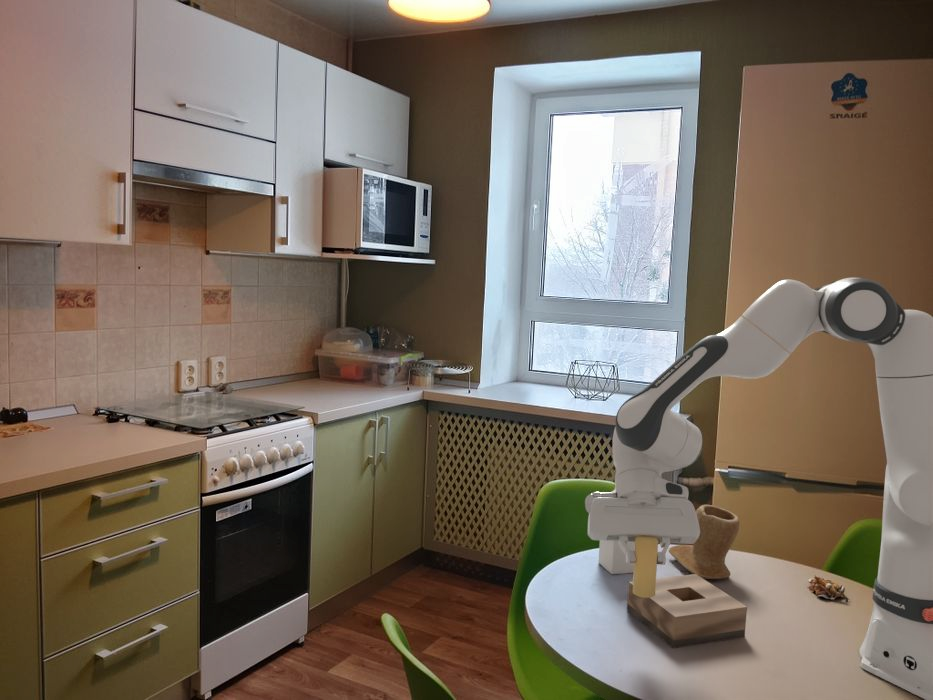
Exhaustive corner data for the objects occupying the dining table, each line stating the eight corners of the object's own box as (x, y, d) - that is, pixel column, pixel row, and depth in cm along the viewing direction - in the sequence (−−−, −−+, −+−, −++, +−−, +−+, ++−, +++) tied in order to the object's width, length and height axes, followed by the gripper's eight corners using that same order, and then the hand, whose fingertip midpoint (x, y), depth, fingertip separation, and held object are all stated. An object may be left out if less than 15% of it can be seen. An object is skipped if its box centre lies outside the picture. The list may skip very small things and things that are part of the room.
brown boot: (744, 582, 177) (750, 517, 175) (694, 584, 175) (699, 518, 173) (713, 556, 192) (718, 496, 190) (666, 558, 190) (671, 497, 188)
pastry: (828, 581, 180) (829, 566, 180) (852, 604, 169) (853, 588, 168) (797, 579, 181) (798, 564, 180) (819, 602, 169) (820, 587, 168)
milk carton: (611, 575, 178) (616, 492, 176) (598, 563, 185) (602, 483, 182) (640, 572, 180) (645, 491, 178) (625, 561, 187) (631, 482, 184)
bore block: (744, 636, 151) (747, 606, 150) (672, 648, 145) (675, 616, 145) (693, 601, 166) (695, 573, 165) (626, 610, 160) (628, 581, 160)
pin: (659, 596, 143) (662, 542, 141) (640, 598, 141) (643, 544, 140) (647, 587, 146) (650, 534, 145) (628, 589, 145) (631, 536, 144)
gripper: (586, 483, 149) (590, 553, 140) (696, 487, 148) (706, 557, 140) (582, 499, 154) (586, 567, 145) (689, 503, 153) (698, 572, 145)
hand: (646, 562), depth 142 cm, fingers closed on pin, 4 cm apart
